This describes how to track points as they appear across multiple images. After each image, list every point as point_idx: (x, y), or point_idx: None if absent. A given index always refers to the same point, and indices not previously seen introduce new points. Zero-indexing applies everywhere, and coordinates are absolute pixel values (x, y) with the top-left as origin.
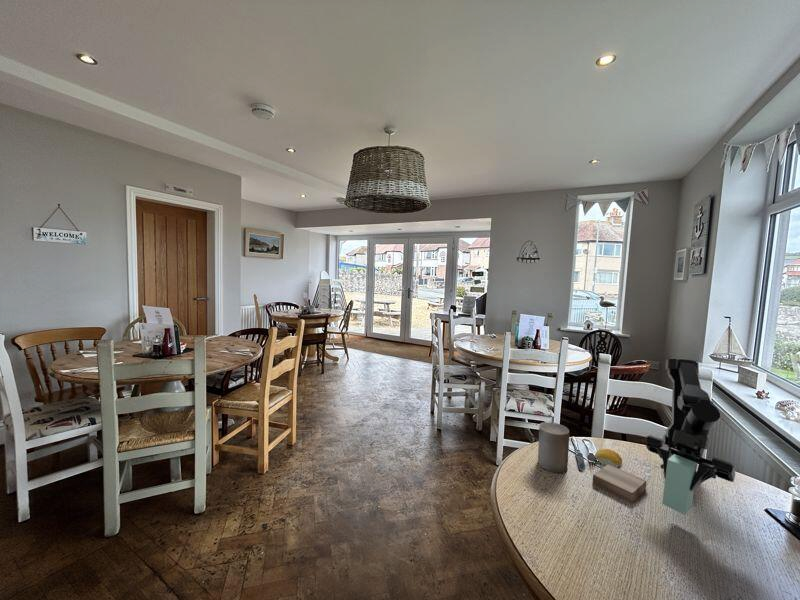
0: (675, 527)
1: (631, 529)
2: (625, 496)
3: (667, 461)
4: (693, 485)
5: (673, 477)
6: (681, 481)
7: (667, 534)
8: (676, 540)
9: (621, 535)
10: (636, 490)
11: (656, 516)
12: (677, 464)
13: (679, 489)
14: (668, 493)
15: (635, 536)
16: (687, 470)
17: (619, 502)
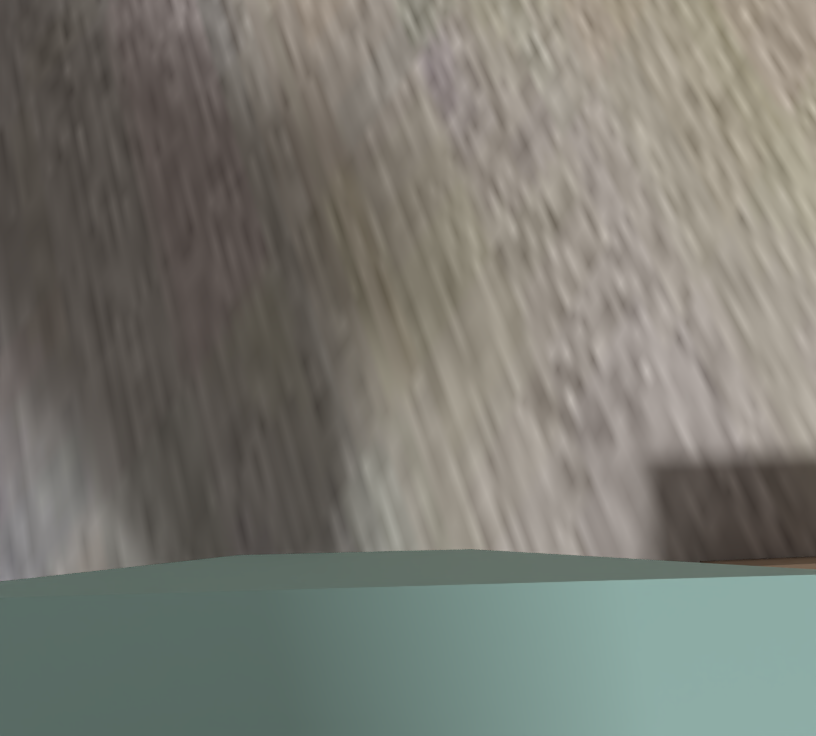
0: (319, 533)
1: (520, 167)
2: (774, 560)
3: (802, 570)
4: None
5: (439, 561)
6: (272, 564)
7: (329, 357)
8: (259, 340)
9: (528, 38)
10: None
11: None
12: (433, 581)
13: (305, 559)
14: (442, 552)
15: (467, 111)
16: (40, 587)
17: (754, 460)
